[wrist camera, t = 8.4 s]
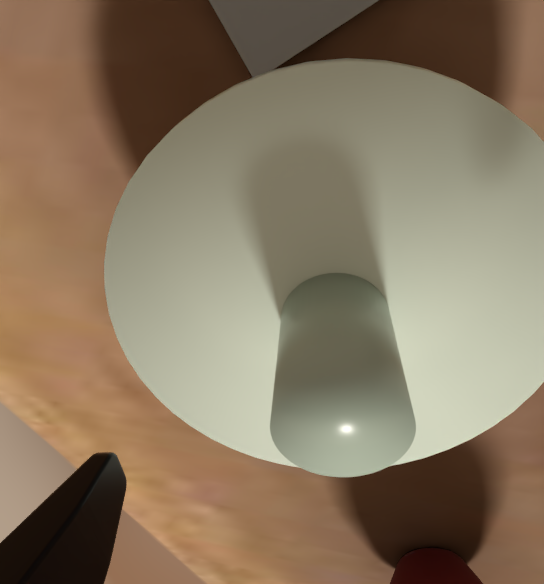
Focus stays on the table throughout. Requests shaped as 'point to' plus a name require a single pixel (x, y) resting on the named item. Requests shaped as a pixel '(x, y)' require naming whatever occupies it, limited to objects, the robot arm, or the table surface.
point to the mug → (433, 568)
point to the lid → (336, 266)
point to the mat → (281, 26)
